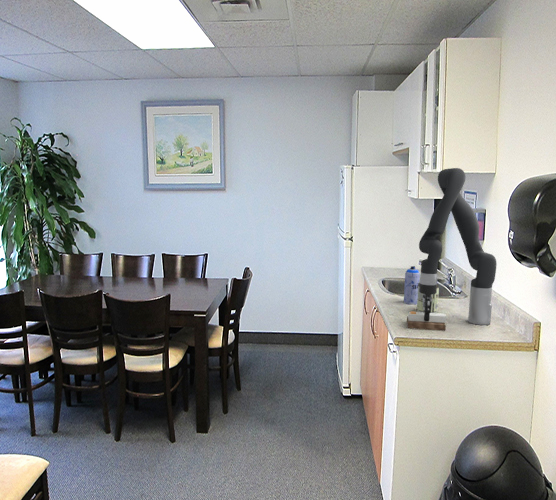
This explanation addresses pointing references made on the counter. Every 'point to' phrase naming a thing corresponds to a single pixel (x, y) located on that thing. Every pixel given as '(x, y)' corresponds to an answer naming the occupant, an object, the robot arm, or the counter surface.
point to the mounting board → (426, 325)
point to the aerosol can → (411, 286)
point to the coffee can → (434, 301)
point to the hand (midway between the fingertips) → (426, 319)
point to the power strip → (432, 318)
